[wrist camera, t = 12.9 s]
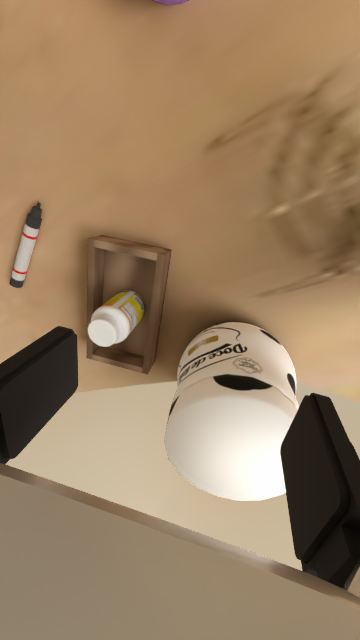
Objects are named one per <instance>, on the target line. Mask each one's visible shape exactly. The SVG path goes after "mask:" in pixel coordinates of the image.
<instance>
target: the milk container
mask: <svg viewBox="0 0 360 640" xmlns="http://www.w3.org/2000/svg"><path fill="white" fill-rule="evenodd" d="M177 384H178V388H177V391H176V394H175V396H174V399H173V402H172V405H171V409H170V413H169V418H168V423H167V428H166V432H165V440H164V443H165V447H166V451H167V455H168V459H169V460H170V462H171V463H172V465H173V466H174V467H175V469H176V470H177V472H178V473H179V474H180V475H181V476H182V477H183V478H185V479H186V480H188V481H189V482H190V483H192V484H193V485H194V486H195V487H197V488H199V489H201V490H204V491H206V492H208V493H210V494H213V495H215V496H218V497H223V498H228V499H233V500H238V501H251V500H252V501H253V500H265V499H268V498H271V497H275V496H279V495H282V494H284V493H285V492H286V489H285V482H284V475H283V468H282V461H281V455H280V449H281V444H282V442H283V440H284V438H285V436H286V434H287V431H288V429H289V427H290V425H291V423H292V421H293V419H294V417H295V415H296V413H297V411H298V409H299V405H298V402H297V399H296V397H295V394H296V374H295V369H294V366H293V363H292V361H291V358H290V356H289V355H288V353H287V351H286V350H285V348H284V347H283V346H282V345H281V343H280V342H279V341H278V340H277V339H276V338H275V337H274V336H273V335H271V334H270V333H268V332H267V331H265V330H264V329H262V328H259V327H257V326H254V325H251V324H247V323H240V322H227V323H221V324H217V325H214V326H211V327H209V328H207V329H205V330H203V331H202V332H200V333H199V334H198V335H197V336H196V337H195V338H194V339H193V340H192V341H191V342H190V343H189V344H188V346H187V347H186V349H185V350H184V352H183V354H182V357H181V359H180V362H179V366H178V371H177Z"/></svg>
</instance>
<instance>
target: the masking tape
mask: <svg viewBox="0 0 360 640" xmlns="http://www.w3.org/2000/svg"><path fill="white" fill-rule="evenodd" d="M153 1H155V2H157V3H161V4H165V5H174V4H180V3H184V2H186V1H189V0H153Z"/></svg>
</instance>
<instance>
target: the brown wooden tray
mask: <svg viewBox="0 0 360 640" xmlns="http://www.w3.org/2000/svg"><path fill="white" fill-rule="evenodd" d="M170 257H171V250H168V249H164V248H159V247H154V246H149V245H145V244H140V243H135V242H131V241H126V240H121V239H117V238H112V237H107V236H102V235H101V236H96V237H92V238H88V284H87V358H89V359H93V360H96V361H100V362H104V363H108V364H111V365H115V366H119V367H122V368H126V369H130V370H133V371H137V372H141V373H145V374H148V373H149V371H150V369H151V367H152V365H153V363H154V362H155V356H156V349H157V342H158V336H159V329H160V323H161V316H162V309H163V303H164V296H165V290H166V283H167V276H168V270H169V263H170ZM125 290H130V291H134V292H136V293H138V294H139V295H140V296H141V297H142V298H143V300H144V302H145V305H146V312H145V315H144V317H143V318H142V319H141V320H140V322H139V323H138V324H137V325H136V327H135V328H134V329H133V330H132V332H131V333H130V334H129V335H128V337H127V338H126V339H125V340H123V341H122V342H120V343H115V344H112V345H111V346H108V347H102V346H99V345H97V344H95V343H94V342H93V341H92V340H91V339H90V337H89V335H88V326H89V324H90V323H91V318H92V315H93V313H94V312H95V311H96V310H97V309H98V308H99V307H101V306H102V305H103V304H105V303H106V302H107V301H109V300H110V299H111V298H113V297H114V296H115V295H116V294H118V293H119V292H121V291H125Z"/></svg>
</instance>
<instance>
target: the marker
mask: <svg viewBox="0 0 360 640" xmlns="http://www.w3.org/2000/svg"><path fill="white" fill-rule="evenodd" d="M40 205H41V204H40V203H39V202H38V203H37V207H36V206H33V208H32V210H31V213H29V214H28V216H27V220H26V223H25V226H24V230H23V233H22V237H21V241H20V245H19V248H18V252H17V256H16V260H15V263H14V267H13V271H12V275H11V280H10V285H11V286H13V287H16V288H20V287H22V285H23V282H24V279H25V276H26V273H27V269H28V266H29V263H30V259H31V256H32V253H33V249H34V246H35V242H36V239H37V236H38V232H39V229H40V224H41V221H42V219H41V211H42V210H41V209H40Z"/></svg>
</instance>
